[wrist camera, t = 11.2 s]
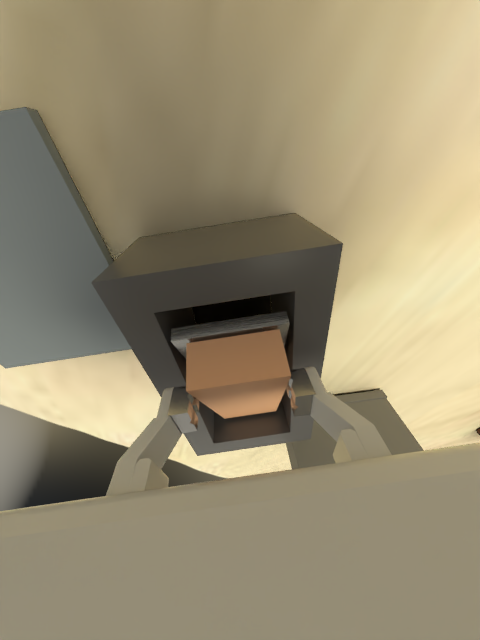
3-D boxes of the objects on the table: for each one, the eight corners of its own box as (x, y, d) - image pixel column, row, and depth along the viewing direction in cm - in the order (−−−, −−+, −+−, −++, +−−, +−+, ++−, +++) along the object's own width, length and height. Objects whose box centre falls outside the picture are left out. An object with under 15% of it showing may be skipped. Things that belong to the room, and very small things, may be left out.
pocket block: (139, 237, 15) (90, 282, 9) (295, 213, 15) (342, 243, 9) (201, 392, 26) (197, 455, 20) (290, 379, 26) (310, 439, 20)
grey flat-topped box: (279, 423, 32) (380, 851, 12) (280, 400, 28) (427, 960, 8) (368, 411, 32) (613, 815, 12) (380, 387, 29) (757, 906, 9)
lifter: (171, 328, 12) (169, 359, 11) (286, 310, 12) (294, 340, 11) (215, 385, 23) (216, 403, 22) (273, 377, 23) (277, 394, 22)
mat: (36, 110, 11) (25, 107, 10) (153, 340, 20) (151, 346, 20) (-229, 153, 11) (-257, 153, 10) (11, 361, 20) (5, 368, 20)
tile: (186, 343, 11) (186, 391, 10) (279, 329, 11) (291, 375, 10) (222, 391, 21) (224, 418, 20) (270, 384, 21) (276, 411, 20)
